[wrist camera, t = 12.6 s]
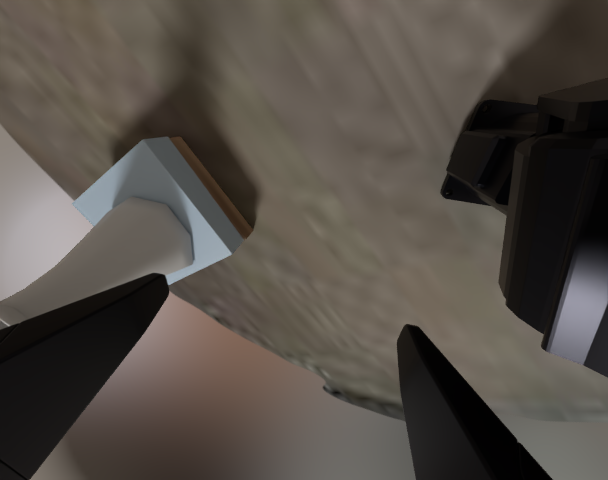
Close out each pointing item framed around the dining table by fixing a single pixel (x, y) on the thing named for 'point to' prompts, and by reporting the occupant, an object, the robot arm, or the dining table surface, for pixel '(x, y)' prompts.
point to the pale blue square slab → (165, 199)
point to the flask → (107, 259)
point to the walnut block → (213, 188)
